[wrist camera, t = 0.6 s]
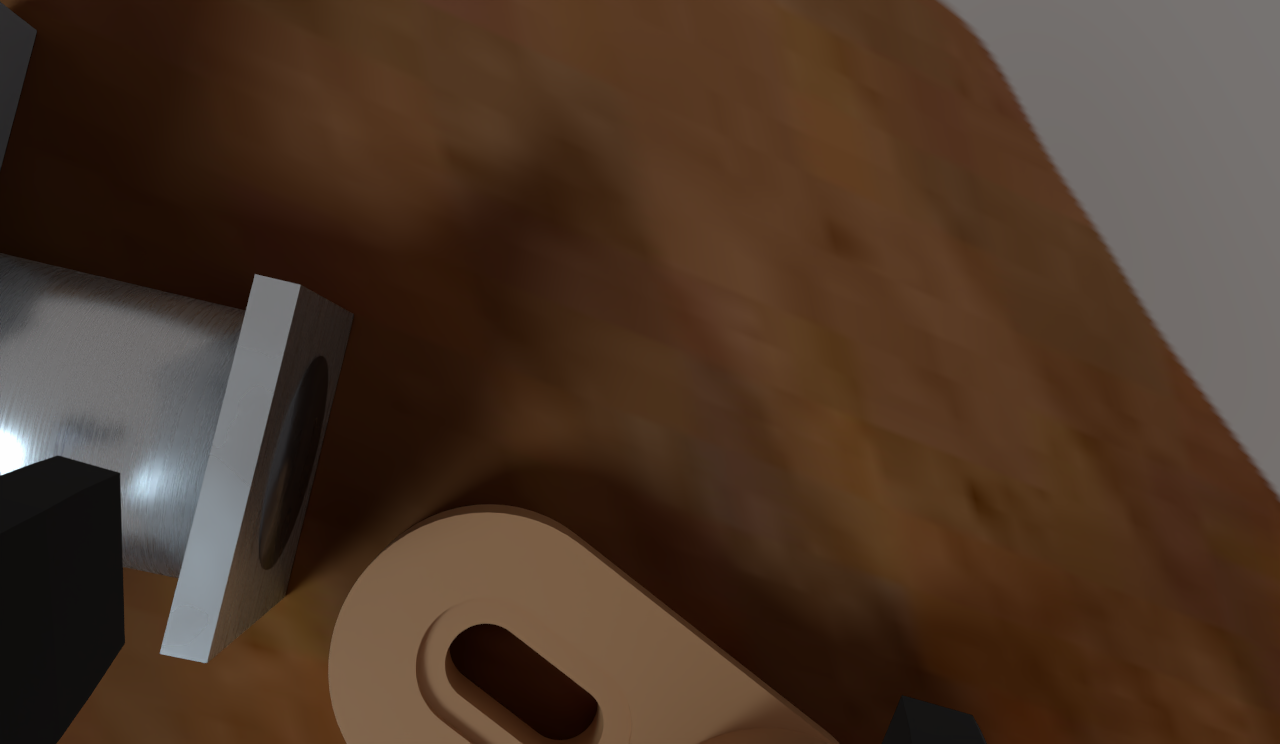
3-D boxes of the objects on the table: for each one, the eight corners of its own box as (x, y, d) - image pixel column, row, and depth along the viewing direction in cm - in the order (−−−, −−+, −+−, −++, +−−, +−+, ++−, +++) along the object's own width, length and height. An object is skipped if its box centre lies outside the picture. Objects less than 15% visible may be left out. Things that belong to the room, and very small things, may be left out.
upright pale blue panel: (237, 797, 33) (116, 969, 23) (-191, 715, 31) (-517, 859, 22) (402, 123, 34) (356, 6, 24) (-6, 19, 32) (-236, -150, 23)
